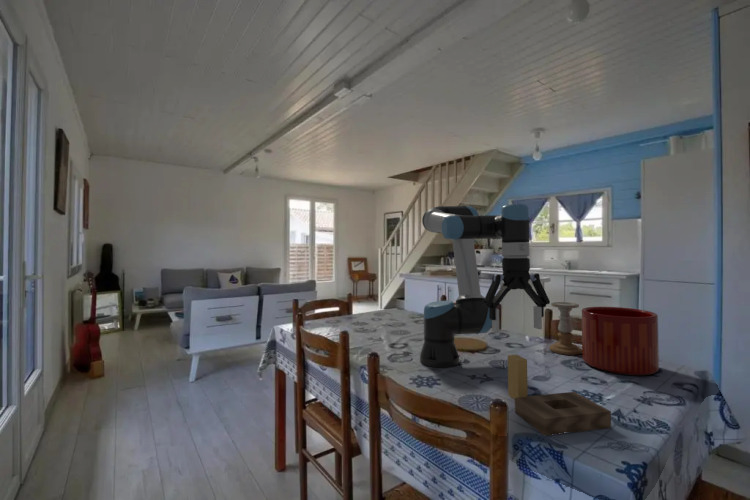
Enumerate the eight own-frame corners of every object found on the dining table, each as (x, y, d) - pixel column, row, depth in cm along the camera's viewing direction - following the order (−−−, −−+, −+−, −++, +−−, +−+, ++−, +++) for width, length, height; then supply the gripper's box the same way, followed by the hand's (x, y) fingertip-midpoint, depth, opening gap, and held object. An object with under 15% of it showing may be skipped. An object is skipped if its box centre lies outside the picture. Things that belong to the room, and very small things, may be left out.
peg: (518, 402, 99) (517, 360, 99) (508, 395, 104) (507, 355, 104) (527, 401, 99) (526, 359, 99) (517, 394, 104) (516, 354, 104)
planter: (587, 353, 144) (586, 304, 144) (659, 364, 129) (658, 310, 129) (577, 368, 126) (576, 312, 126) (659, 382, 112) (657, 320, 112)
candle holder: (552, 354, 143) (551, 305, 144) (547, 346, 155) (546, 301, 155) (586, 356, 140) (585, 306, 140) (578, 348, 152) (577, 302, 152)
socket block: (544, 436, 81) (544, 418, 81) (515, 412, 93) (514, 397, 93) (611, 427, 84) (610, 411, 84) (574, 406, 96) (573, 391, 96)
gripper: (482, 258, 96) (484, 335, 96) (562, 256, 100) (563, 330, 100) (470, 258, 103) (471, 329, 103) (545, 256, 108) (546, 324, 108)
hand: (517, 329), depth 102 cm, fingers open, 13 cm apart
